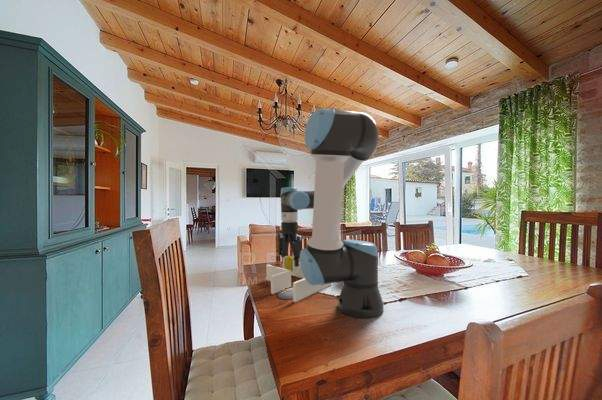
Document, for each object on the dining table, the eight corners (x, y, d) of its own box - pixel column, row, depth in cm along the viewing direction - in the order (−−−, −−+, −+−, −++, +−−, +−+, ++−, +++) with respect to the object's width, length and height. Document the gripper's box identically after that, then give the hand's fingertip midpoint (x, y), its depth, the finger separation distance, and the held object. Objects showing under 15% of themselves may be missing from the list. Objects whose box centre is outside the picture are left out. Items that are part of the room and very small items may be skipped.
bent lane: (331, 285, 110) (331, 269, 110) (295, 302, 93) (295, 283, 93) (287, 273, 128) (286, 259, 128) (250, 285, 111) (250, 269, 111)
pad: (302, 294, 100) (302, 293, 100) (288, 301, 94) (288, 300, 94) (288, 289, 106) (288, 288, 106) (273, 295, 100) (273, 294, 100)
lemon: (298, 271, 119) (297, 254, 118) (294, 274, 113) (293, 256, 113) (287, 270, 120) (286, 253, 120) (282, 273, 115) (282, 256, 115)
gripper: (269, 221, 120) (270, 270, 120) (299, 223, 108) (300, 278, 108) (281, 219, 125) (282, 266, 126) (310, 221, 113) (311, 273, 114)
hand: (290, 271), depth 117 cm, fingers closed on lemon, 5 cm apart
